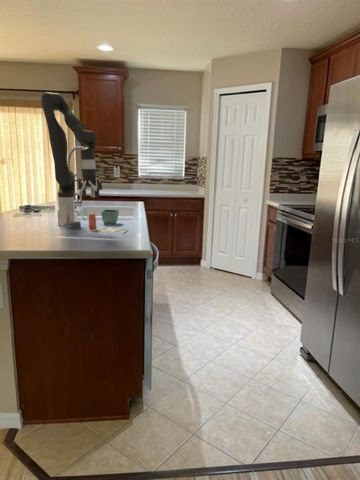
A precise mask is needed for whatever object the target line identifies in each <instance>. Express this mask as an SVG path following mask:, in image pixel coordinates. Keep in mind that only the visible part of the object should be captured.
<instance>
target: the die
mask: <svg viewBox="0 0 360 480" xmlns="http://www.w3.org/2000/svg"><path fill="white" fill-rule="evenodd" d="M81 223H82V222H81V220H75V221H71V224H70V225H71V226H70V228H71V230H81V228H82V227H81V225H82V224H81Z"/></svg>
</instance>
